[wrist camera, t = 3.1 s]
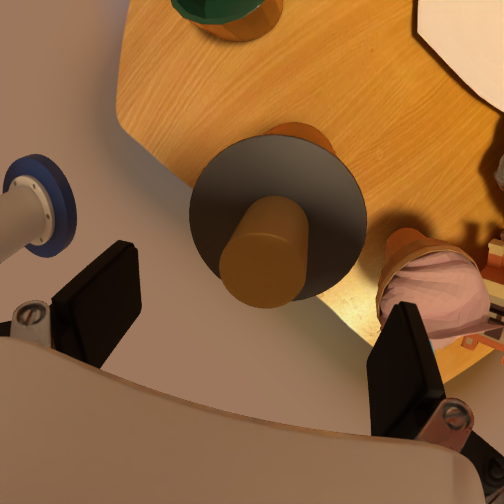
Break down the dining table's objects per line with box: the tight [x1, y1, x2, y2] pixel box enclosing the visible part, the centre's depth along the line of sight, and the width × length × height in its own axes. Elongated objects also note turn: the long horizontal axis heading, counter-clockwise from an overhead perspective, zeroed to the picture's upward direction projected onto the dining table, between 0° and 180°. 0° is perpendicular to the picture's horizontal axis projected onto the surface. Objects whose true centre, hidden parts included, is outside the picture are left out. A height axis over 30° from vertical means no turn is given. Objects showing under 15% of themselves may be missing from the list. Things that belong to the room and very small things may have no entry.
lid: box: [189, 134, 367, 308], centre depth 16 cm, size 10×10×6 cm
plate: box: [417, 0, 504, 112], centre depth 19 cm, size 23×23×2 cm
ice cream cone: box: [376, 227, 504, 359], centre depth 27 cm, size 11×11×20 cm
